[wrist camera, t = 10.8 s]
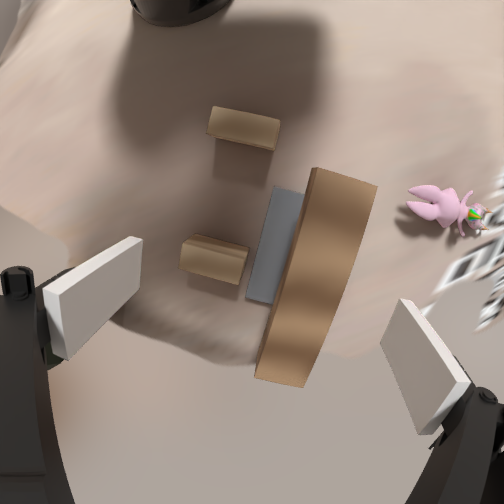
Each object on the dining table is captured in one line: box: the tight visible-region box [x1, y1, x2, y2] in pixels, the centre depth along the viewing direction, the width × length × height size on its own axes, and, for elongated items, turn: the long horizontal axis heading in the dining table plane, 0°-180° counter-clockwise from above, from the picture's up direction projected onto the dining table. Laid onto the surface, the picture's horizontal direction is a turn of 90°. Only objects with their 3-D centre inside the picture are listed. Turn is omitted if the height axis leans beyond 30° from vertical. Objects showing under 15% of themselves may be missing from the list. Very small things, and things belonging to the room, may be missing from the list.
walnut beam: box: [254, 167, 378, 388], centre depth 27 cm, size 20×5×4 cm, turn 166°
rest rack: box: [178, 106, 280, 285], centre depth 33 cm, size 18×7×5 cm, turn 166°
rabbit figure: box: [406, 185, 493, 237], centre depth 30 cm, size 6×6×15 cm
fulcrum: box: [245, 186, 305, 305], centre depth 32 cm, size 14×11×8 cm
